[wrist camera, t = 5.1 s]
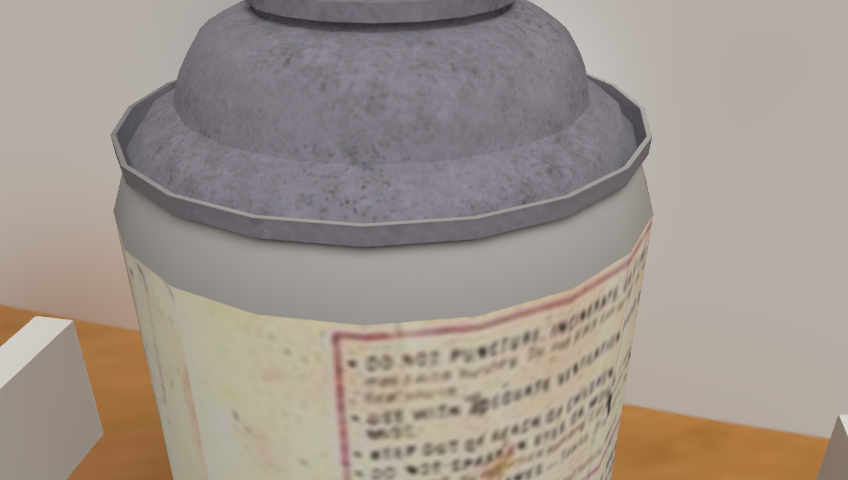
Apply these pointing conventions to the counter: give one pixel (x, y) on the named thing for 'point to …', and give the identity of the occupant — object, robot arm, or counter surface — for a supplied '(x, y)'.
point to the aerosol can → (385, 244)
